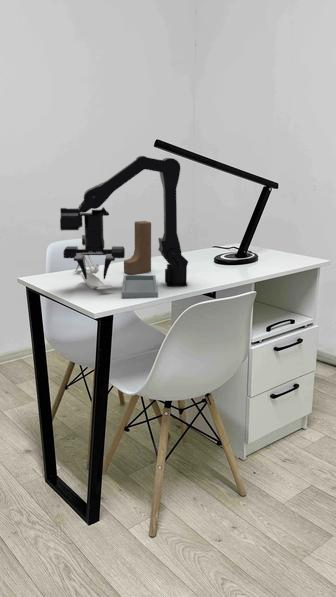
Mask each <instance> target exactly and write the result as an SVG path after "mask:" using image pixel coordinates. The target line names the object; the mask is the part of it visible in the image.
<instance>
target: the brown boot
mask: <svg viewBox="0 0 336 597" xmlns="http://www.w3.org/2000/svg"><path fill="white" fill-rule="evenodd" d="M151 272H152V222H151V221H147V220H140V221H138V220H137V221H134V251H133V255H132V256H131V257H130V258H127V259H125V260H123V273H124V274H127V275H140V274H146V273H151ZM139 273H140V274H139Z"/></svg>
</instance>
